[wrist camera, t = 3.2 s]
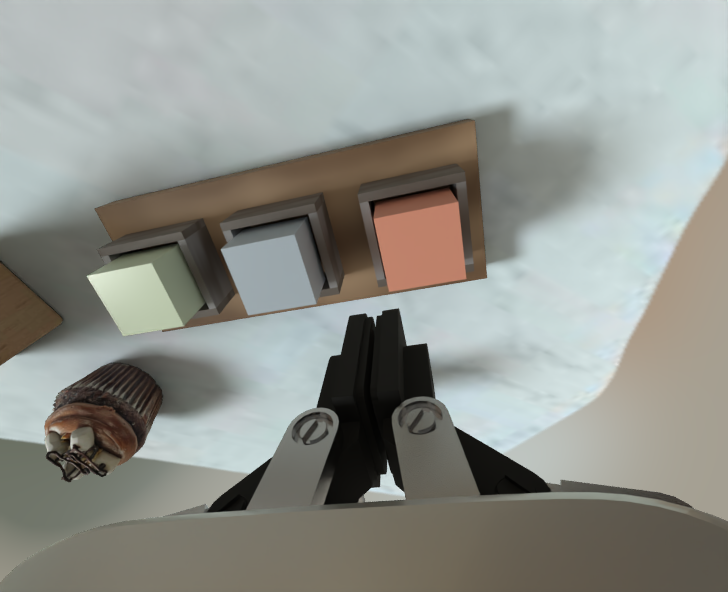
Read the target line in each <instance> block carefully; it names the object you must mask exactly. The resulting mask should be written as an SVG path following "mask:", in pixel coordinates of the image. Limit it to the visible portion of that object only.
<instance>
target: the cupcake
mask: <svg viewBox="0 0 728 592" xmlns="http://www.w3.org/2000/svg"><path fill="white" fill-rule="evenodd" d="M58 394H59V395H57V396H56V400H55V401H54V402H56V403H54V404H53V406H54V407H55V408H53V411H54V412H53V413H52V414H51V415H50V416H49V417H48V418H47V420H46V422H45V434H46V437H45V445H46V448H47V451H48V453H47V455H46V459H48V460H49V461H50V462H51V463H53V464H54V465H56V466H58V467H60V468H61V470H62V472H63V477H62V479H64V480H65V481H67V482H71V480H73V479H80V478H81V477H82V476H84V475H88V474H89V473H90V471H91V472H93V473H94V474H96V475H99V476H101V477H103V476H106V475H107V474H110V473H111V472H113V471H114V469H115V468H116V466H118V465H121V464H122V463H124V462H126V461H128V460H129V459H130V458H131V457H132V456H133V455H134V454H135V453H136V452H138V451H139V450H140V448H141V447H142V446H143V445H144V443H145V440H146V438H147V435H148V433H149V431H150V429H151V426H152V424H153V421H154V419H155V417H156V415H157V413H158V411H159V409H160V406H161V404H162V397H163V396H162V391H161V389H160V387H159V386H158V385H157V384H156V382H155V380H154V379H153V378H152V377H151V376H150V375H149V374H147V373H146V372H144V371H142V370H141V369H139V368H137V367H134V366H130V365H128V364H122V363H111V364H108V365H104V366H102V367H100V368H99V369H97V370H95V371H94V372H92V373H90V374H89V375H87V376H86V377H84V378H82V379H81V380H79V381H77V382H75V383H74V384H72V385H70V386H69V387H67V388H65V389H63V390H62V391H61V392H59V393H58ZM58 461H66V463H65V464H64V465H63V467H62V465H61V464H60V463H59V462H58Z"/></svg>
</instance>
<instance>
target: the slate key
mask: <svg viewBox="0 0 728 592" xmlns="http://www.w3.org/2000/svg"><path fill="white" fill-rule="evenodd" d="M221 251H222V254H223V256H224V259H225V261H226V263H227V266H228V268H229V271H230V273H231V275H232V278H233V280H234V282H235V285H236V287H237V290H238V292H239V294H240V297H241V299H242V302H243V304H244V306H245V309H246V311H247V314H248V315H254V314H260V313H266V312H272V311H278V310H284V309H290V308H296V307H302V306H308V305H314V304H317V301H318V299H319V296H320V293H321V290H322V288H323V285H324V282H325V275H324V272H323V268H322V265H321V262H320V258H319V255H318V251H317V248H316V245H315V241H314V238H313V234H312V231H311V228H310V224H309V221H308V217H303V218H298V219H293V220H289V221H284V222H279V223H274V224H269V225H264V226H259V227H255V228H250V229H245V230H242V231H241V232H240V233H239V234H237V235H236V236H235V237H234V238H233V239H232V240H231V241H229V242H228V243H227V244H226V245H225V246H224V247H223V248H221Z"/></svg>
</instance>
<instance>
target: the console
mask: <svg viewBox="0 0 728 592" xmlns="http://www.w3.org/2000/svg"><path fill="white" fill-rule="evenodd" d="M444 188H449V189H450V190H451V192H452V193H453V195H454V196H455V198H456V199H457V201H458V204H459V214H460V223H461V233H462V242H463V252H464V261H465V271H466V279H463V280H457V281H451V282H445V283H439V284H434V285H428V286H422V287H416V288H410V289H404V290H398V291H392V292H389V289H388V285H387V280H386V275H385V271H384V266H383V261H382V256H381V252H380V247H379V242H378V238H377V233H376V228H375V224H374V212H375V205H376V202H381V201H385V200H390V199H395V198H400V197H405V196H410V195H415V194H419V193H424V192H429V191H434V190H439V189H444ZM95 211H96V212H97V214H98V216H99V218H100V220H101V221H102V223H103V225H104V227H105V229H106V230H107V232H108V234H109V236H110V238H111V239H112V242H111V243H109V244H107V245H105V246H103V247H101V248H99V249H97V251H98V252H99V254H100V256H101V258H102V259H103V261H104V263H105V265H106V264H108V263H110V262H112V261H113V260H115V259H117V258H119V257H120V256H122V255H124V254H129V253H133V252H138V251H143V250H148V249H153V248H158V247H162V246H167V245H172V244H177V243H178V244H179V246H180V248H181V250H182V252H183V254H184V257H185V259H186V261H187V263H188V265H189V267H190V269H191V271H192V274H193V276H194V278H195V280H196V282H197V284H198V286H199V288H200V291H201V293H202V295H203V297H204V299H205V301H206V303H205V304H204V305H203V306H202V307H201V308H200V309H199V310H198V311H197V313H196V314H195V315H194V316H193V317H192V318H191V319H190V320H189V321H188V322H187V323H186V325H185V326H182V327H176V328H170V329H164V330H162V332H165V331H171V330H177V329H183V328H189V327H195V326H201V325H207V324H213V323H219V322H225V321H231V320H237V319H243V318H249V317H255V316H261V315H267V314H274V313H280V312H286V311H292V310H298V309H304V308H310V307H316V306H322V305H328V304H334V303H340V302H346V301H352V300H358V299H364V298H370V297H376V296H382V295H388V294H394V293H400V292H406V291H412V290H418V289H424V288H430V287H436V286H442V285H448V284H454V283H460V282H466V281H472V280H478V279H484V278H487V271H486V259H485V246H484V233H483V220H482V207H481V194H480V181H479V168H478V155H477V142H476V129H475V121H474V120H470V119H466V120H462V121H457V122H453V123H449V124H444V125H440V126H436V127H431V128H427V129H423V130H419V131H414V132H410V133H406V134H401V135H397V136H393V137H389V138H384V139H380V140H376V141H371V142H367V143H363V144H358V145H354V146H350V147H346V148H341V149H337V150H333V151H328V152H324V153H320V154H316V155H311V156H307V157H303V158H298V159H294V160H290V161H285V162H281V163H277V164H273V165H268V166H264V167H260V168H255V169H251V170H247V171H243V172H238V173H234V174H230V175H225V176H221V177H217V178H212V179H208V180H204V181H200V182H195V183H191V184H187V185H182V186H178V187H174V188H170V189H165V190H161V191H157V192H152V193H148V194H144V195H139V196H135V197H131V198H127V199H122V200H118V201H114V202H111V203H109V204H106V205H103V206H100V207H98V208H95ZM303 217H308V221H309V224H310V228H311V231H312V234H313V238H314V241H315V245H316V248H317V251H318V255H319V258H320V262H321V265H322V268H323V272H324V275H325V282H324V285H323V288H322V290H321V293H320V296H319V299H318V301H317V304H314V305H308V306H302V307H296V308H290V309H284V310H278V311H272V312H266V313H260V314H254V315H248V314H247V311H246V309H245V306H244V304H243V302H242V299H241V297H240V294H239V292H238V290H237V287H236V285H235V282H234V280H233V278H232V275H231V273H230V271H229V268H228V266H227V263H226V261H225V259H224V256H223V254H222V251H221V248H223V247H224V246H225V245H226V244H227V243H228V242H229V241H231V240H232V239H233V238H234V237H235V236H236V235H237V234H239V233H240V232H241V231H242V230H245V229H250V228H255V227H259V226H264V225H269V224H274V223H279V222H284V221H289V220H293V219H298V218H303Z"/></svg>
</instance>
